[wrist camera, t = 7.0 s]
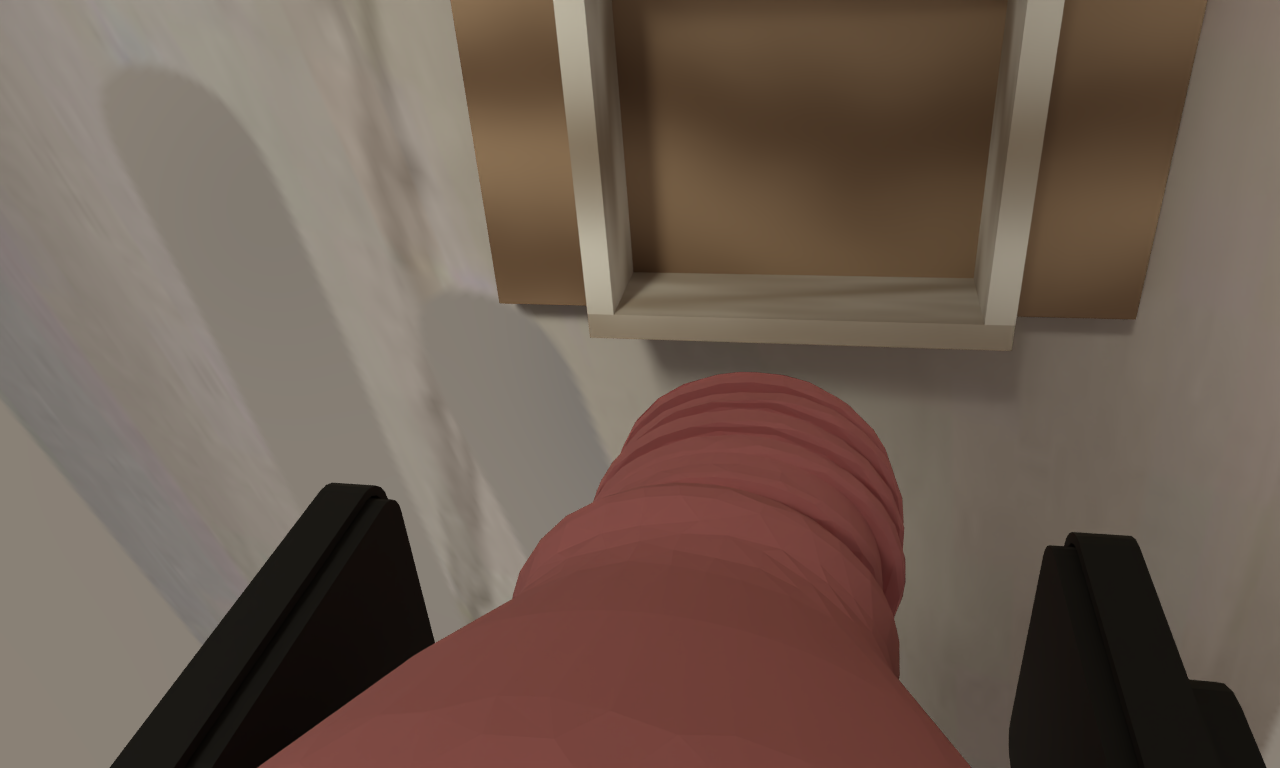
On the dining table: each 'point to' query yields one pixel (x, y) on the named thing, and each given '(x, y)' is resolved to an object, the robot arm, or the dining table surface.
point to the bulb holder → (825, 162)
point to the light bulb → (681, 613)
